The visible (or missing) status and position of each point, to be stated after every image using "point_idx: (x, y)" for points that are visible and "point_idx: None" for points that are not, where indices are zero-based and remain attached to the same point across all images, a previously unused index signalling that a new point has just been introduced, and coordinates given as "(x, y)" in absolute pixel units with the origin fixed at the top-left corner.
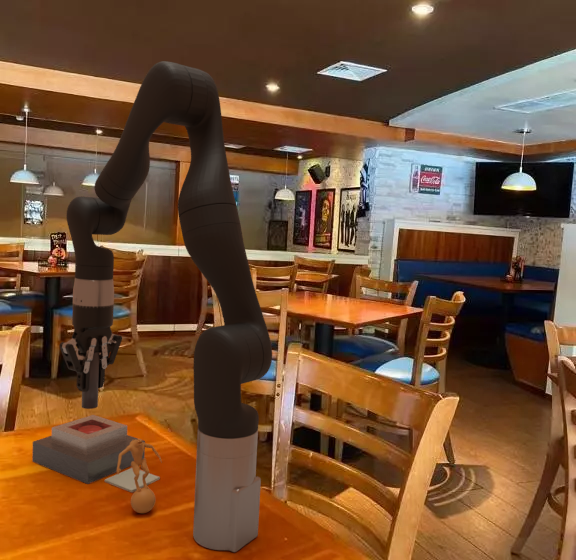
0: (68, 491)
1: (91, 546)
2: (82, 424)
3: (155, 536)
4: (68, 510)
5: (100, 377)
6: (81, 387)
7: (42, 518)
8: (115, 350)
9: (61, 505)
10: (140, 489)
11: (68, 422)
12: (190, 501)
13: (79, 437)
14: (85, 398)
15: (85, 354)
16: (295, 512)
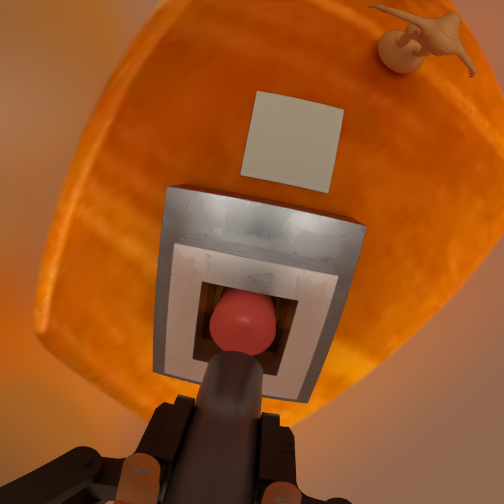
0: (391, 232)
1: (490, 94)
2: None
3: None
4: (444, 184)
5: (182, 432)
6: (293, 435)
7: (473, 207)
8: (35, 490)
9: (436, 207)
10: (416, 47)
11: None
12: (312, 4)
13: (329, 305)
14: (261, 397)
15: None
16: None
